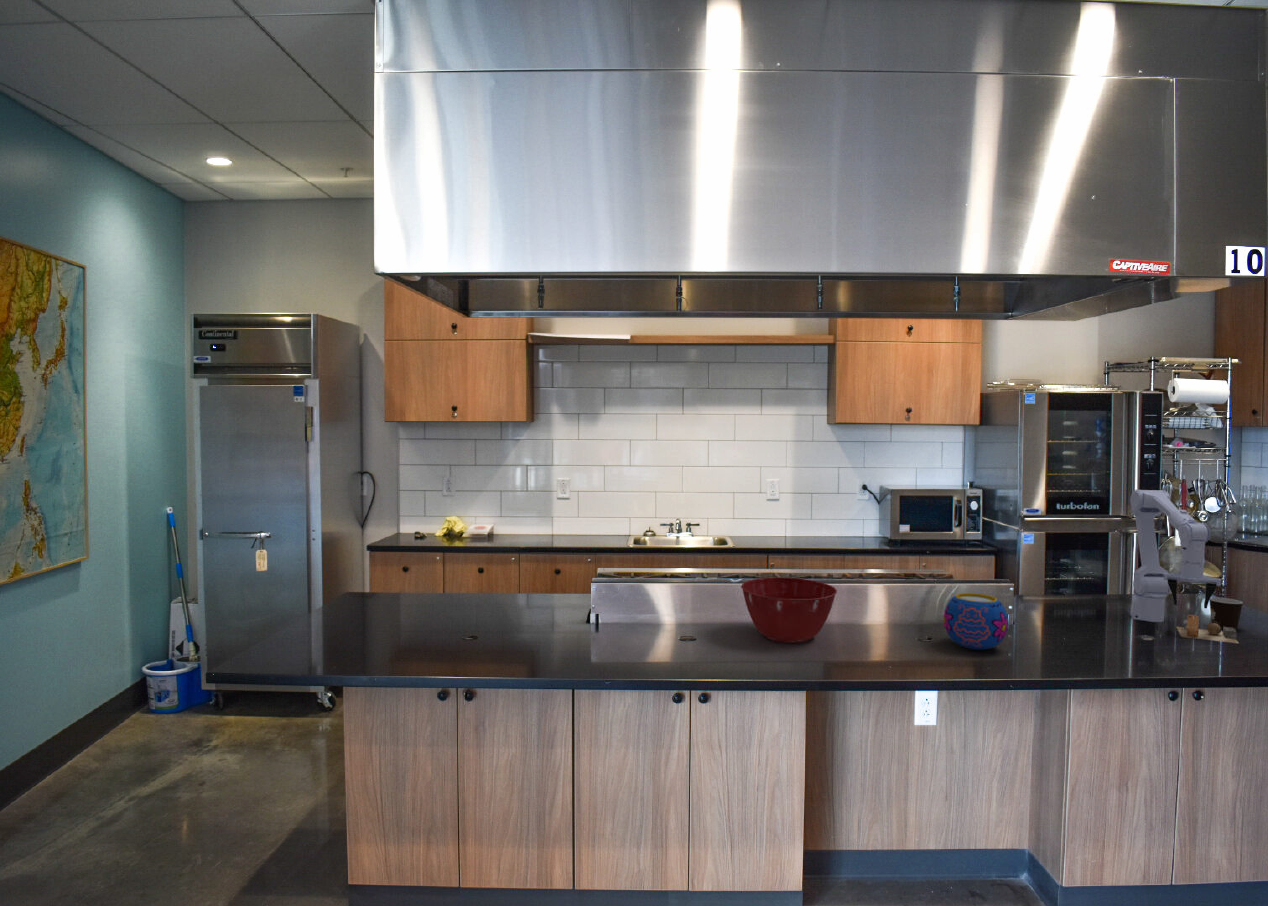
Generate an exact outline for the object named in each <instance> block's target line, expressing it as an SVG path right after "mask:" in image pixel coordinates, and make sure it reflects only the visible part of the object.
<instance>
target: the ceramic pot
mask: <svg viewBox="0 0 1268 906" xmlns="http://www.w3.org/2000/svg"><path fill="white" fill-rule="evenodd" d="M1009 624H1010V623H1009V618H1008V614H1007V610H1006V608H1005V606H1004V605H1003V604H1002V602H1001V601H1000V600H999V599H998V598H997V597H995V596H992V595H986V594H982V593H973V592H972V593H971V592H964V593H958V594H955V595H954V596H952V598H950V600H949V601H948V603H947V604H946V607H945V609H944V613H943V625H944V629H945V631H946V634H947V635H948V637H949V638H950V639H951V641H953V642H955V643H956V644H957V645H959V646H960V647H964V648H966V649H969V650H974V651H983V650H989V649H993V648H995V647H997V646H998V645H1000V644H1001V643H1002V642H1003V640H1005V638H1006V635H1007V633H1008V631H1009Z"/></svg>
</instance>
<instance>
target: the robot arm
mask: <svg viewBox="0 0 1268 906" xmlns="http://www.w3.org/2000/svg"><path fill="white" fill-rule="evenodd" d="M1129 502H1130V509H1131V514H1132V516H1134V517H1135V525H1136V534H1137V542H1138V548H1139V557H1140V563H1141V566H1140V567H1138V569H1136V570H1135V571H1134V572H1133V582H1132V584H1133V586H1132V587H1133V589H1134V591H1135V593H1132V594H1131V595H1132V596H1131V610H1130V611H1129V612H1130V616H1131V619H1132V620H1136V621H1144V622H1145V621H1146V622H1149V623H1150V622H1151V623H1163V622H1164V620H1165V619H1164V618H1165V600H1166V599H1165V598H1168V595H1170V594H1172V599H1173V605H1175V606H1177V605H1178V604H1177V603H1178V597H1177V594H1178V593H1177V589H1178V582H1183V583H1193V584H1202V585H1205V594H1204V595H1205V597H1204V603H1203V609H1208V605H1209V603H1210V598H1212V596H1213V594H1214V593H1215V591H1216V589H1217V587H1221V585H1222V579H1221V578H1216V577H1208V576H1204V570H1205V569H1204V568H1205V567H1204V566H1205V554H1206V553H1205V549H1206V542H1208V541H1209V540H1210V538H1211V530H1210V527H1209V526H1208V525H1207V523H1206V522H1198V521H1197V520H1196V519H1195V518H1193V517H1192V516H1191V515H1190V514H1189V513H1188V511H1187V510H1186V509H1179V508H1178V507H1177V506H1176V505H1175V504H1174V503H1173V502H1172V501H1171V496H1170V493H1168V492H1167V491H1166V490H1165V489H1161V490H1157V489H1156V490H1155V489H1152V490H1150V489H1149V490H1148V489H1134V490H1133V492H1132V493H1131V495H1130V498H1129ZM1162 513H1163V514H1164V515H1165V516H1167V518H1168V519H1167V520H1168V523H1169V524H1170V525H1171V526H1172V527H1173V528H1174V529H1175V530H1176V531H1177V532H1178V537H1179V541H1180V543H1179V544H1180V546H1181V560H1180V562H1181V565H1180V566H1181V567H1180V573H1170V572H1169V571H1168V570H1167V569H1165V568H1163V567H1162V566H1161V563H1160V558H1159V557H1160V556H1159V551H1158V542H1157V535H1156V529H1155V522H1154V519H1155V518H1156V517H1157V516H1161V514H1162Z"/></svg>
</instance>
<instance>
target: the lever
mask: <svg viewBox="0 0 1268 906" xmlns="http://www.w3.org/2000/svg"><path fill="white" fill-rule="evenodd" d="M1183 624H1187V627H1186V628H1187V635H1188V636H1192V637H1198V633H1199V629H1200V627H1199V626H1200V616H1198V615H1194V614H1193V615H1192V614H1187V619H1184V620H1183Z"/></svg>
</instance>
